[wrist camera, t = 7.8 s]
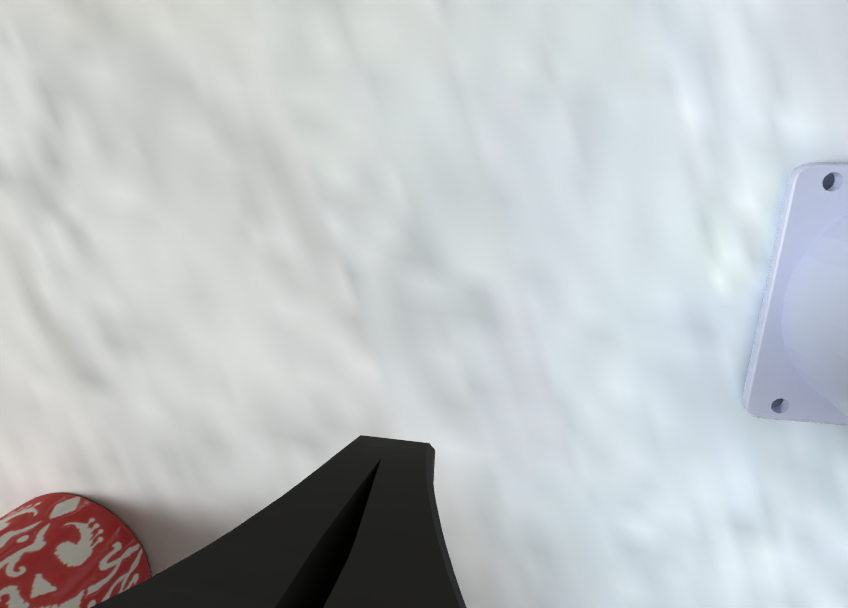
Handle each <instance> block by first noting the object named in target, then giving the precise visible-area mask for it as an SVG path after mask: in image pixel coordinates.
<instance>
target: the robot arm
mask: <svg viewBox="0 0 848 608" xmlns="http://www.w3.org/2000/svg"><path fill="white" fill-rule="evenodd" d="M829 173H832V174H833V176H834V179H835V182H834V184H833V186H832V187H830V188H829V189H828V190H825V189H824V187H823V183H822V181H823V179H824V178H825V176H827V175H828V174H829ZM780 398H783V402H782V404H781V405H780V406H778V407H774V408H771V405H772V403H773V401H775V400H776V399H780ZM742 405H743V406H744V408H745V409H746V410H747V411H748V412H749V413H750V414H751V415H753V416H755V417H759V418H768V419H780V420H792V421H804V422H815V423H827V424H839V425H848V164H837V163H808V164H803V165H801V166H799V167H797V168H796V169H795V170H794V171H793V172H792V173H791V174H790V177H789V179H788V182H787V187H786V192H785V196H784V201H783V206H782V211H781V215H780V220H779V225H778V230H777V234H776V239H775V244H774V249H773V253H772V258H771V263H770V268H769V272H768V277H767V282H766V287H765V291H764V296H763V301H762V306H761V310H760V315H759V320H758V325H757V329H756V334H755V339H754V344H753V348H752V353H751V358H750V362H749V367H748V372H747V377H746V381H745V386H744V391H743V396H742ZM434 461H435V450H434V448H433V447H432V446H431V445H430V444H429V443H422V442H414V441H405V440H396V439H388V438H379V437H371V436H362V435H361V436H359V437H358V438H357V439H355V440H354V441H353V442H351V443H350V444H349V445H347V446H346V447H345V448H344V449H342V450H341V451H340V452H339V453H337V454H336V455H335V456H333V457H332V458H331V459H330V460H328V461H327V462H326V463H325V464H323V465H322V466H321V467H320V468H318V469H317V470H316V471H315V472H313V473H312V474H311V475H309V476H308V477H307V478H305V479H304V480H303V481H302V482H300V483H299V484H298V485H296V486H295V487H294V488H292V489H291V490H290V491H288V492H287V493H286V494H284V495H283V496H282V497H280V498H279V499H277V500H276V501H274V502H273V503H271V504H270V505H269V506H267V507H266V508H264V509H263V510H261V511H260V512H258V513H257V514H255V515H254V516H252V517H251V518H249V519H248V520H247V521H245V522H244V523H242V524H241V525H239V526H238V527H236V528H235V529H233V530H232V531H230V532H229V533H227V534H226V535H224V536H222V537H221V538H219V539H218V540H216V541H214V542H213V543H211V544H209V545H208V546H206V547H204V548H203V549H201V550H199V551H198V552H196V553H194V554H192V555H191V556H189V557H187V558H185V559H183V560H182V561H180V562H178V563H176V564H175V565H173V566H171V567H169V568H168V569H166V570H164V571H162V572H160V573H159V574H157V575H155V576H153V577H151V578H149V579H147V580H145V581H144V582H141V583H139V584H137V585H135V586H133V587H131V588H129V589H127V590H125V591H123V592H121V593H119V594H117V595H115V596H113V597H111V598H109V599H107V600H105V601H103V602H100V603H98V604H96V605H94V606H92V607H90V608H466V605H465V603H464V600H463V597H462V594H461V592H460V589H459V586H458V583H457V580H456V577H455V574H454V571H453V568H452V564H451V561H450V558H449V554H448V551H447V548H446V544H445V540H444V536H443V533H442V528H441V524H440V519H439V514H438V510H437V505H436V500H435V494H434V485H433V480H434Z"/></svg>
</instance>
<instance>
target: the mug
mask: <svg viewBox="0 0 848 608" xmlns="http://www.w3.org/2000/svg"><path fill="white" fill-rule="evenodd" d="M149 578H150V570H149V565H148V561H147V558H146V556H145V553H144V551H143V549H142V547H141V545H140V543H139V542H138V540H137V538H136V537H135V536H134V534H133V533H132V532H131V531H130V530H129V528H128V527H127V526H126V525H125V524H124V523H123V522H122V521H121V520H120V519H119V518H118V517H116V516H115V515H114V514H112V513H111V512H110V511H108V510H107V509H105V508H104V507H102V506H100V505H98V504H96V503H94V502H92V501H90V500H88V499H85V498H82V497H79V496H75V495H69V494H46V495H42V496H39V497H36V498H34V499H32V500H30V501H28V502H26V503H24V504H23V505H21V506H19V507H18V508H16V509H14V510H13V511H11V512H10V513H8V514H6V515H5V516H3V517H2V518H0V608H90V607H92V606H94V605H96V604H98V603H100V602H103V601H105V600H107V599H109V598H111V597H113V596H115V595H117V594H119V593H121V592H123V591H125V590H127V589H129V588H131V587H133V586H135V585H137V584H139V583H141V582H144V581H145V580H147V579H149Z"/></svg>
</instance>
